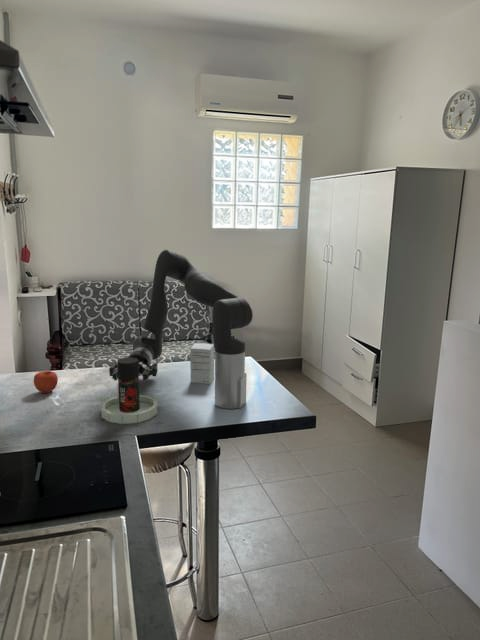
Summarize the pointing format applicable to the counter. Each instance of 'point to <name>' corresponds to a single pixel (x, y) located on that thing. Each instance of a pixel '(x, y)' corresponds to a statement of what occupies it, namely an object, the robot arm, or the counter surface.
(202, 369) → the supplement box
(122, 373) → the deodorant
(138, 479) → the counter surface
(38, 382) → the apple
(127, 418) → the round tray
